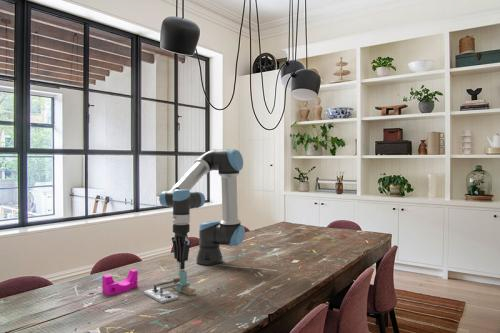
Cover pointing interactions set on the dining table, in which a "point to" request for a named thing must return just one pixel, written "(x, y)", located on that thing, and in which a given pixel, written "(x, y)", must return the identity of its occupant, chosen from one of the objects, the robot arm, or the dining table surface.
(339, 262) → the dining table surface
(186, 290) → the rail
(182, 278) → the sliding trammel head
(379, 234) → the dining table surface
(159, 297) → the bolt plate
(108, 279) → the toy block
